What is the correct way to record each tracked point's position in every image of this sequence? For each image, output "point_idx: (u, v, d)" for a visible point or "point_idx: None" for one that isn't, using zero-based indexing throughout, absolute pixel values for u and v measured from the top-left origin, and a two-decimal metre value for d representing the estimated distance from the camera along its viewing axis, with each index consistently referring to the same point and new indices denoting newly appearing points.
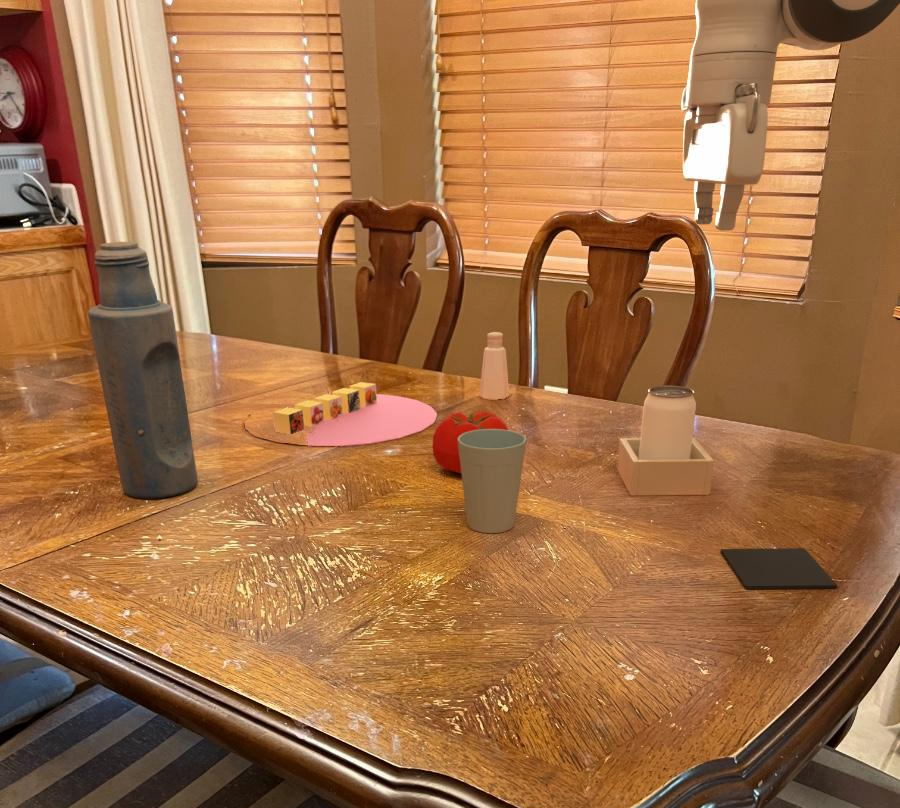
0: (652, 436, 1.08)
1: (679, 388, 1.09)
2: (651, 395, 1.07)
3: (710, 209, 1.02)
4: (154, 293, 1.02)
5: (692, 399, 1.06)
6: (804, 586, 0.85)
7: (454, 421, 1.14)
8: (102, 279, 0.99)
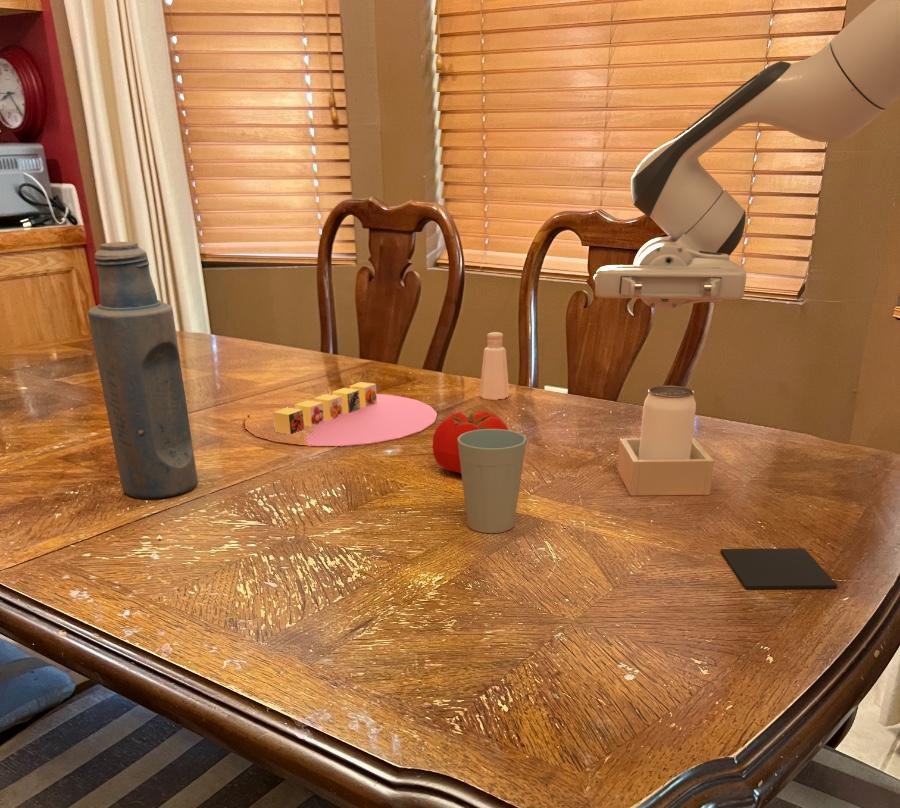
0: (652, 436, 1.08)
1: (679, 388, 1.09)
2: (651, 395, 1.07)
3: (702, 285, 1.14)
4: (154, 293, 1.02)
5: (692, 399, 1.06)
6: (804, 586, 0.85)
7: (454, 421, 1.14)
8: (102, 279, 0.99)
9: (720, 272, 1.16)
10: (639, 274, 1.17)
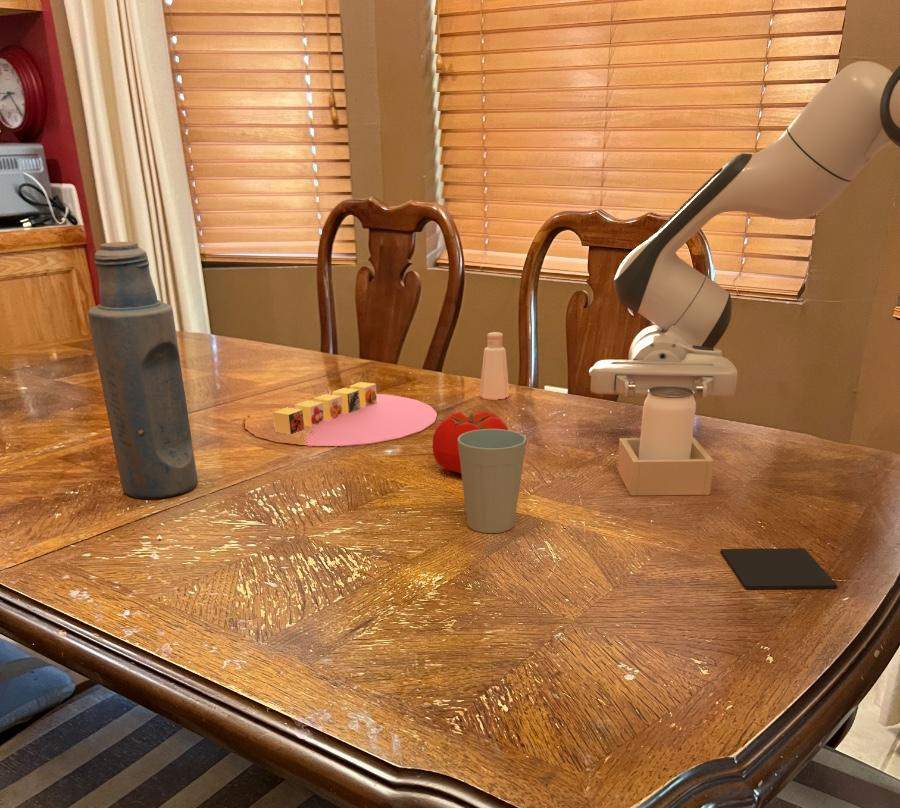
0: (652, 436, 1.08)
1: (679, 388, 1.09)
2: (651, 395, 1.07)
3: (694, 385, 1.17)
4: (154, 293, 1.02)
5: (692, 399, 1.06)
6: (804, 586, 0.85)
7: (454, 421, 1.14)
8: (102, 279, 0.99)
9: (712, 371, 1.19)
10: (633, 372, 1.20)
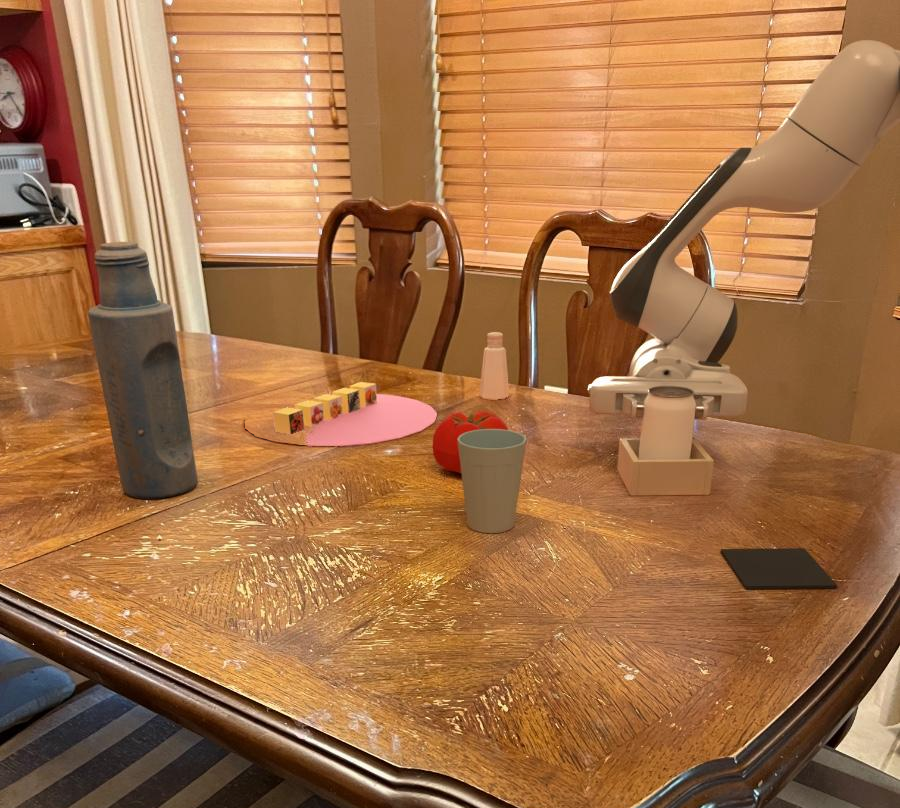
0: (652, 436, 1.08)
1: (679, 388, 1.09)
2: (651, 395, 1.07)
3: None
4: (154, 293, 1.02)
5: (692, 399, 1.06)
6: (804, 586, 0.85)
7: (454, 421, 1.14)
8: (102, 279, 0.99)
9: (720, 390, 1.10)
10: (635, 391, 1.12)
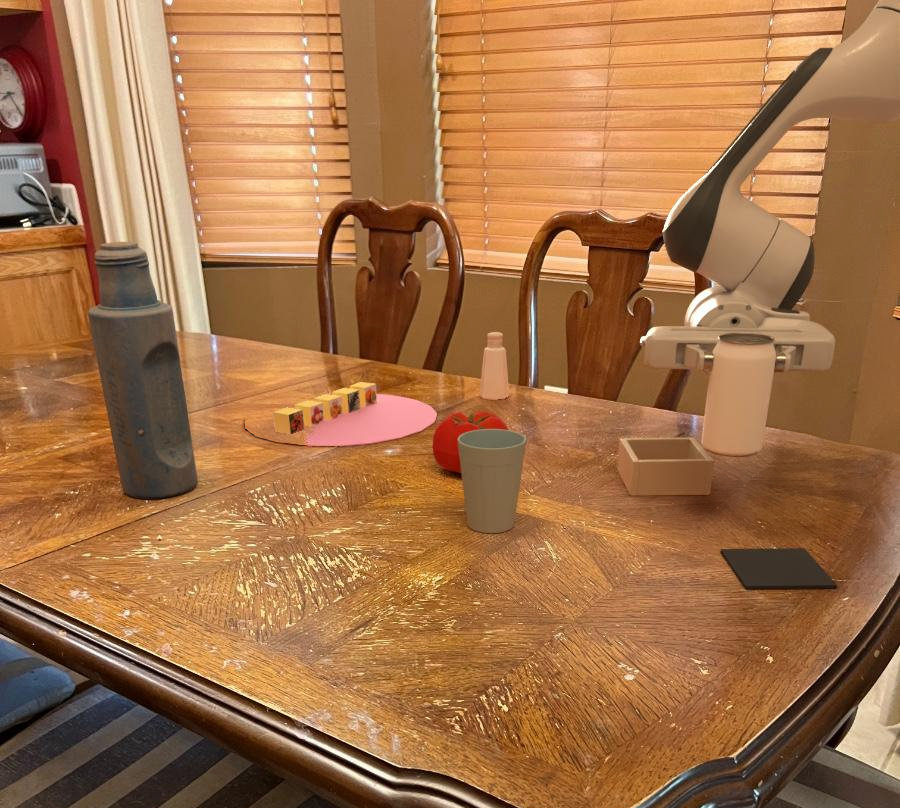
0: (723, 393, 0.90)
1: (754, 335, 0.92)
2: (722, 343, 0.89)
3: None
4: (154, 293, 1.02)
5: (772, 347, 0.89)
6: (804, 586, 0.85)
7: (454, 421, 1.14)
8: (102, 279, 0.99)
9: (803, 338, 0.93)
10: (701, 340, 0.94)
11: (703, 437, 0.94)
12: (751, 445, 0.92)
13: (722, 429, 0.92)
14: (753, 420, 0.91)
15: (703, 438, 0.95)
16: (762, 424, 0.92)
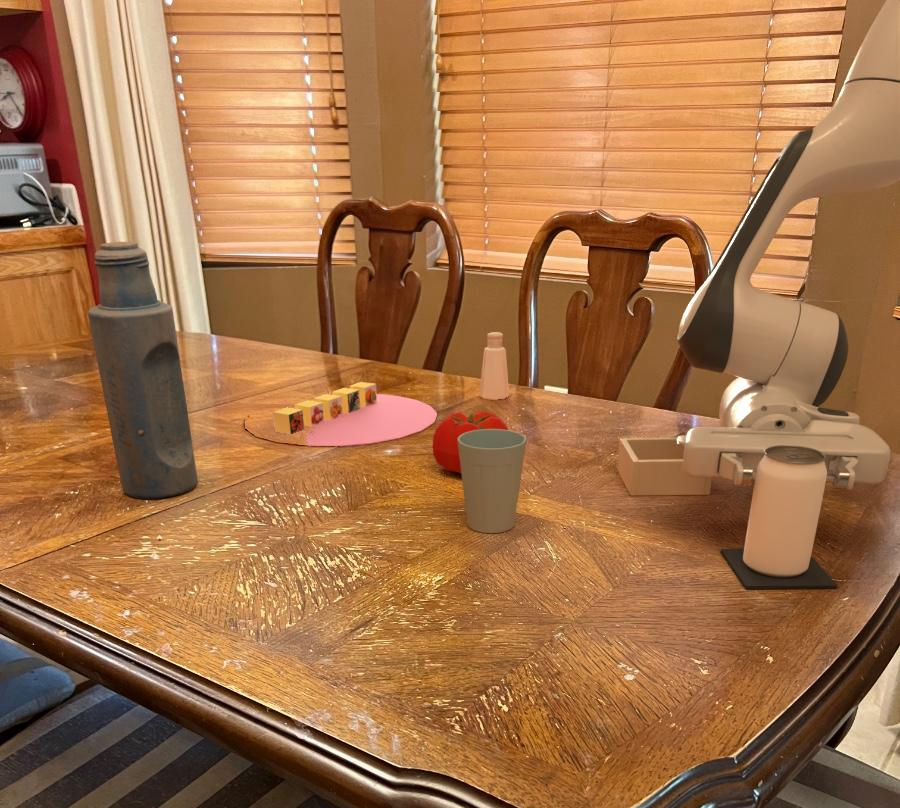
0: (770, 512, 0.84)
1: (802, 449, 0.85)
2: (770, 459, 0.83)
3: (835, 471, 0.84)
4: (154, 293, 1.02)
5: (823, 465, 0.82)
6: (804, 586, 0.85)
7: (454, 421, 1.14)
8: (102, 279, 0.99)
9: (856, 449, 0.86)
10: (745, 449, 0.88)
11: (745, 554, 0.88)
12: (798, 566, 0.86)
13: (767, 549, 0.85)
14: (801, 541, 0.84)
15: (745, 554, 0.88)
16: (810, 543, 0.85)
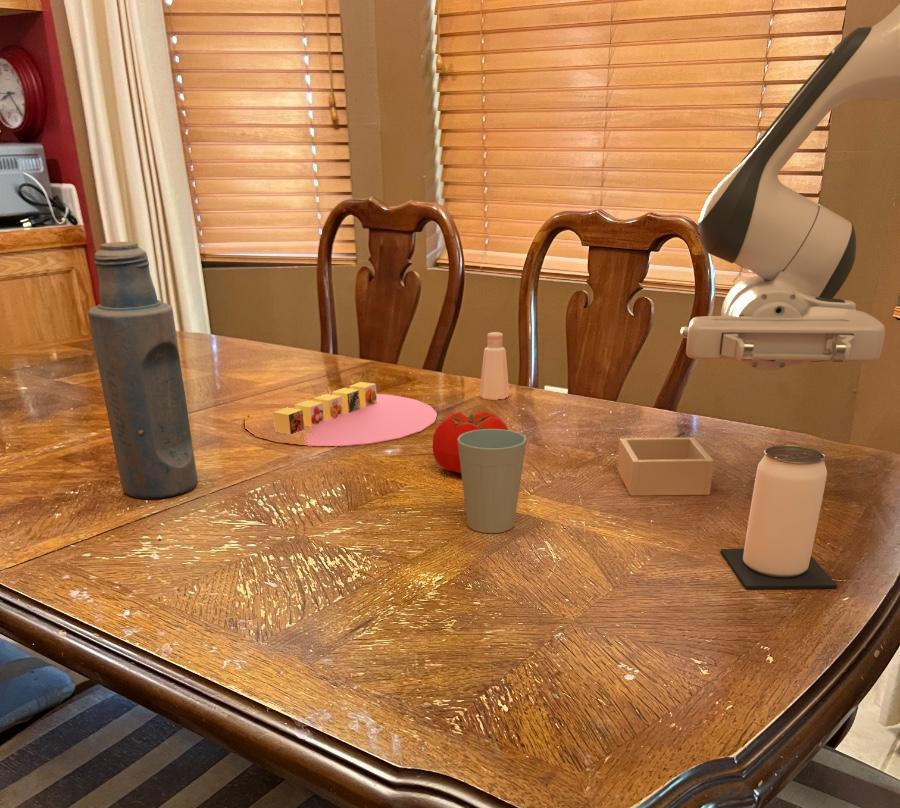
0: (769, 512, 0.84)
1: (802, 449, 0.85)
2: (770, 459, 0.83)
3: (832, 345, 0.88)
4: (154, 293, 1.02)
5: (823, 465, 0.82)
6: (804, 586, 0.85)
7: (454, 421, 1.14)
8: (102, 279, 0.99)
9: (852, 327, 0.90)
10: (746, 329, 0.92)
11: (745, 554, 0.88)
12: (798, 566, 0.86)
13: (767, 549, 0.85)
14: (801, 541, 0.84)
15: (745, 554, 0.88)
16: (810, 543, 0.85)
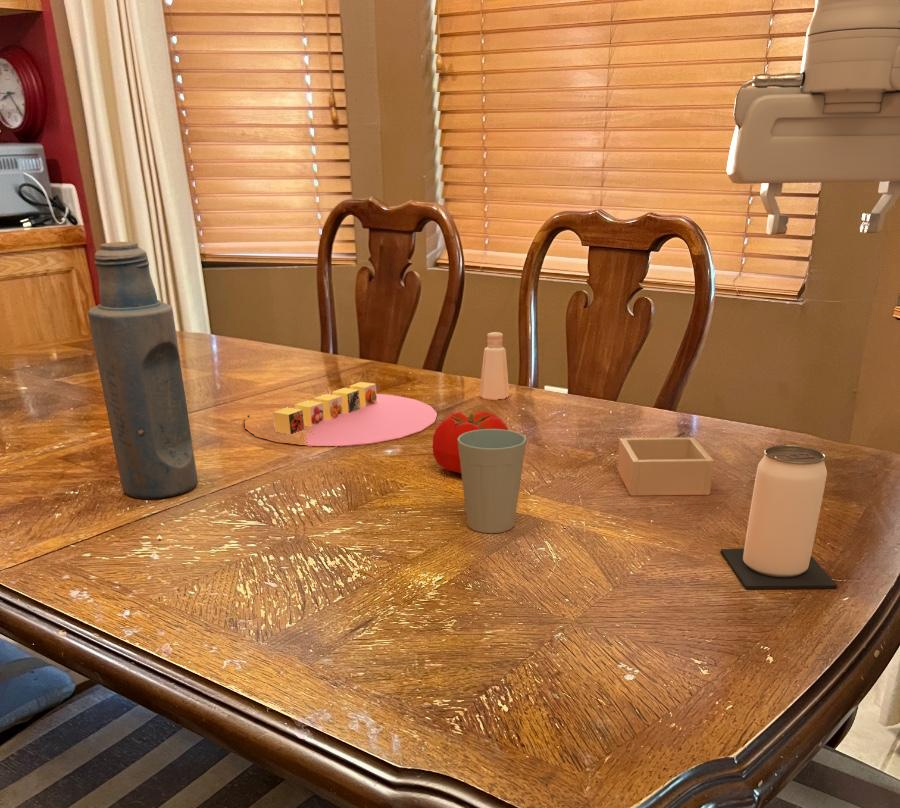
0: (769, 512, 0.84)
1: (802, 449, 0.85)
2: (770, 459, 0.83)
3: (868, 215, 0.85)
4: (154, 293, 1.02)
5: (823, 465, 0.82)
6: (804, 586, 0.85)
7: (454, 421, 1.14)
8: (102, 279, 0.99)
9: None
10: (794, 182, 0.83)
11: (745, 554, 0.88)
12: (798, 566, 0.86)
13: (767, 549, 0.85)
14: (801, 541, 0.84)
15: (745, 554, 0.88)
16: (810, 543, 0.85)
